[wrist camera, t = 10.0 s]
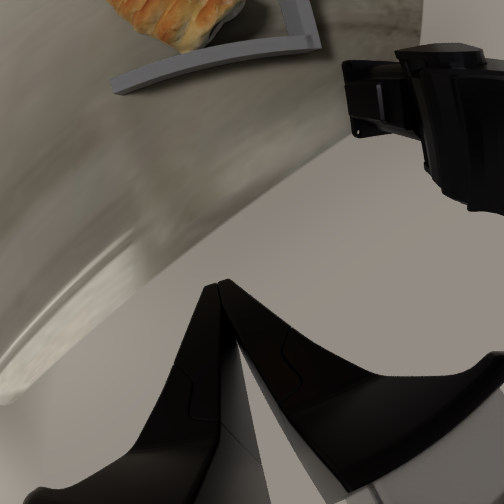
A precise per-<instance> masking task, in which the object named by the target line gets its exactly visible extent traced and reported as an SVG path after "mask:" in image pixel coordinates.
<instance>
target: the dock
mask: <svg viewBox="0 0 504 504" xmlns="http://www.w3.org/2000/svg"><path fill="white" fill-rule="evenodd" d="M279 2H280V6H281V9H282V13H283V17H284V20H285V24H286V28H287V32H288V36H283V37H271V38H262V39H254V40H247V41H240V42H234V43H228V44H223V45H218V46H213V47H208V48H204V49H199V50H195V51H191V52H187V53H183V54H180V55H176V56H173V57H169V58H166V59H163V60H159V61H156V62H153V63H150V64H147V65H144V66H142V67H139V68H136V69H133V70H131V71H128V72H126V73H123V74H121V75H118V76H116V77H113V78H111V79H110V83H111V87H112V91H113V94H117V95H124V94H127V93H129V92H132V91H135V90H137V89H140V88H143V87H145V86H148V85H151V84H154V83H157V82H160V81H163V80H166V79H169V78H173V77H176V76H179V75H183V74H187V73H190V72H194V71H198V70H202V69H206V68H210V67H214V66H219V65H224V64H229V63H234V62H239V61H245V60H251V59H257V58H264V57H272V56H281V55H291V54H304V53H308V52H311V51H315V50H318V49H321V48H322V47H321V42H320V38H319V34H318V30H317V26H316V22H315V19H314V15H313V11H312V8H311V4H310V1H309V0H279Z"/></svg>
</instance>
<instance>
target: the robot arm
mask: <svg viewBox="0 0 504 504" xmlns="http://www.w3.org/2000/svg"><path fill="white" fill-rule="evenodd" d="M394 52H395V55H396V58H397V59H399V62H389V61H370V60H347V61H343V62H342V70H343V76H344V81H345V92H346V99H347V105H348V112H349V115H350V121H351V129H352V134H353V136H354V137H356V138H366V137H372V136H378V135H384V134H392V133H394V134H398V135H402V136H405V137H409V138H412V139H416V140H419V141H421V143H422V148H423V154H424V160H425V162H424V169H425V171H426V172H428V173H429V174H430V175H431V177H432V179H433V181H434V182H436V184H437V185H438V186H439V187H440V188H441V190H442V193H443V194H444V195H446V196H447V197H449V198H451V199H453V200H455V201H458V202H461V203H463V204H466V205H467V210H468V211H470V212H478V211H485V212H491V213H497V214H500V215H503V216H504V60H498V59H489V58H485V56H484V53H483V49H480V48H477V47H474V46H470V45H466V44H462V43H435V44H427V45H421V46H416V47H410V48H405V49H400V50H396V51H394ZM347 64H349V66H350V68H348V67H347ZM358 130H359V134H357V131H358ZM236 340H237V341H236ZM237 343H238V344H237ZM238 345H239V347H240V349H241V352H242V354H243V356H244V358H245V360H246V362H247V364H248V366H249V368H250V370H251V372H252V374H253V376H254V378H255V380H256V382H257V383H258V385H259V387H260V389H261V391H262V393H263V395H264V396H265V399H266V401H267V402H268V404H269V406H270V408H271V410H272V412H273V414H274V415H275V417H276V419H277V421H278V423H279V425H280V426H281V428H282V430H283V431H284V434H285V435H286V437H287V439H288V441H289V442H290V444H291V446H292V448H293V449H294V451H295V452H296V454H297V456H298V458H299V460H300V461H301V463H302V464H303V466H304V468H305V470H306V471H307V473H308V475H309V476H310V478H311V479H312V481H313V483H314V485H315V486H316V488H317V489H318V491H319V492H320V494H321V495H322V497H323V499H324V500H325V502H326V504H334V503H337V502H339V501H342V500H344V499H346V502H347V504H504V394H503V392H502V391H501V390H500V386H501V385H502V384H503V383H504V351H492V352H490V353H488V354H487V355H486V356H485V357H483V358H482V359H481V360H480V361H479V362H478V363H477V364H476V365H475V366H473V367H472V368H471V369H469V370H466V371H464V372H462V373H458V374H455V375H446V376H405V377H404V376H383V375H378V374H375V373H372V372H369V371H367V370H365V369H363V368H361V367H359V366H357V365H355V364H353V363H351V362H349V361H347V360H345V359H343V358H341V357H339V356H337V355H335V354H334V353H332V352H330V351H328V350H326V349H324V348H323V347H321V346H319V345H317V344H316V343H314V342H312V341H311V340H309V339H308V338H307V337H305V336H304V335H302V334H301V333H299V332H298V331H297V330H295V329H294V328H291V326H290V325H289V324H287V323H286V322H285V321H283V320H282V319H281V318H279V317H278V316H277V315H275V314H274V313H273V312H271V311H270V310H269V309H268V308H266V307H265V306H264V305H262V304H261V303H260V302H259V301H257V300H256V299H255V298H253V297H252V296H251V295H249V294H248V293H247V292H246V291H245V290H243V289H242V288H241V287H239V286H238V285H237V284H235V283H234V282H233V281H232V280H230V279H225V280H222V281H219V282H218V283H213V284H210V285H207V286H205V287H204V288H203V291H202V293H201V296H200V298H199V301H198V303H197V305H196V308H195V311H194V313H193V315H192V318H191V321H190V323H189V325H188V328H187V330H186V333H185V335H184V338H183V340H182V343H181V345H180V348H179V351H178V353H177V356H176V358H175V361H174V365H173V366H172V368H171V371H170V373H169V376H168V378H167V381H166V384H165V386H164V388H163V390H162V392H161V394H160V397H159V398H158V401H157V403H156V405H155V407H154V408H153V411H152V412H151V414H150V416H149V418H148V420H147V422H146V424H145V426H144V428H143V430H142V432H141V434H140V436H139V437H138V439H137V441H136V442H135V444H134V445H133V447H132V448H131V449H130V450H129V451H128V452H127V453H126V454H125V455H123V456H122V457H121V458H119V459H118V460H116V461H114V462H113V463H111V464H109V465H108V466H106V467H105V468H103V469H101V470H100V471H98V472H96V473H95V474H93V475H91V476H90V477H88V478H86V479H84V480H82V481H81V482H79V483H77V484H75V485H73V486H71V487H68V488H64V489H51V488H46V487H38V488H36V489H35V490H34V491H32V492H31V493H29V494H28V496H27V497H26V498H25V500H24V502H23V504H271V502H270V497H269V493H268V489H267V485H266V480H265V476H264V472H263V467H262V465H261V464H262V463H261V458H260V454H259V449H258V445H257V440H256V435H255V430H254V426H253V421H252V416H251V411H250V406H249V401H248V396H247V391H246V386H245V380H244V376H243V370H242V364H241V359H240V354H239V349H238Z"/></svg>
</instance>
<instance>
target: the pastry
mask: <svg viewBox="0 0 504 504" xmlns="http://www.w3.org/2000/svg"><path fill="white" fill-rule="evenodd" d="M106 1H107V2H108V3H109V4H110V5H112V6H113V7H114V9H115V10H116V11H117V13H118V15H119V16H120V17H122V18H123V19H124V20H126V21H128V22H129V23H130V24H131V25H132V26H133V27H134V30H135V31H136V32H138V33H140V34H142V35H150V36H151V37H153V38H155V39H157V40H159V41H161V42H162V43H164V44H166V45H168V46H170V47H172V48H174V49H176V50H178V51H179V52H180V53H181V54H183V53H187V52H191V51H195V50H199V49H203V48H204V47H205V46H206V45H207V44H208V43H209V42H210V41H211V40H212V39H213V38H214V37H215V35H216V33H217V32H218V31H219V30H220V28H221V27H222V25H223V24H224V23H225V22H227V21H230V20H231V19H233V18H234V17H236V16H237V14H238V13H239V12H240V11H241V10H242V9H243V7H244V6H245V2H246V0H106Z"/></svg>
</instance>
